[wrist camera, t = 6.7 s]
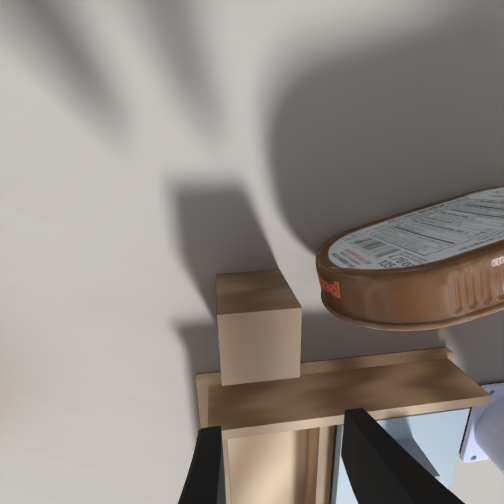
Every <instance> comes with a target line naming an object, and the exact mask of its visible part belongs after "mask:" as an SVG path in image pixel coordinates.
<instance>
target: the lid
mask: <svg viewBox="0 0 504 504" xmlns="http://www.w3.org/2000/svg"><path fill="white" fill-rule="evenodd" d="M469 410H470V408H469V407H467V408H459V409H452V410H444V411H437V412H429V413H422V414H414V415H407V416H399V417H392V418H384V419H377V420H376V421H377V422H378V423H379V424H380V425H381V426H382V427H383V428H384V429H385V430H386V431H387V432H388V433H389V434H390V435H391V436H392V437H393V438H394V439H395V440H396V441H397V442H398V443H399V444H400V445H401V446H402V447H403V448H404V449H405V450H406V451H407V452H408V453H409V454H410V455H411V456H412V457H413V458H414V459H416V460H417V461H418V462H419V463H420V464H421V465H422V466H423V467H424V468H425V469H426V470H427V471H428V472H429V473H431V474H432V475H433V476H434V477H435V478H436V479H437V480H438V481H439V482H441V483H442V484H443V485H444V486H445V487H446V488H447V489H448V490H449V489H450V485H451V481H452V477H453V473H454V470H455V466H456V462H457V458H458V454H459V450H460V446H461V442H462V438H463V434H464V430H465V426H466V422H467V418H468V414H469ZM343 425H344V424H339V425H337V437H336V449H335V462H334V474H333V487H332V499H331V504H358V502H357V500H356V497H355V495H354V493H353V490H352V487H351V484H350V482H349V479H348V476H347V473H346V470H345V467H344V464H343V461H342V458H341V447H342V436H343Z"/></svg>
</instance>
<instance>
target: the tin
mask: <svg viewBox="0 0 504 504" xmlns="http://www.w3.org/2000/svg"><path fill="white" fill-rule="evenodd" d="M316 269H317V274H318V278H319V282H320V285H321V299H322V302H323V304H324V306H325V307H326V308H327V310H328V311H330V312H331V313H332V314H333V315H335V316H336V317H338V318H340V319H342V320H344V321H347V322H349V323H352V324H355V325H358V326H362V327H367V328H371V329H379V330H388V331H418V330H431V329H439V328H444V327H449V326H453V325H457V324H461V323H464V322H468V321H471V320H474V319H477V318H480V317H483V316H486V315H489V314H493V313H496V312H499V311H502V310H504V186H499V187H493V188H488V189H484V190H480V191H475V192H472V193H468V194H465V195H461V196H458V197H455V198H451V199H448V200H444V201H441V202H438V203H434V204H431V205H427V206H424V207H421V208H417V209H414V210H411V211H408V212H404V213H401V214H398V215H395V216H391V217H388V218H385V219H382V220H379V221H375V222H372V223H369V224H366V225H363V226H360V227H357V228H354V229H351V230H349V231H346V232H344V233H342V234H339V235H337V236H336V237H334V238H332V239H330V240H329V241H328V242H326V243H325V244H324V245H323V246H322V247H321V248H320V249H319V251H318V252H317V255H316Z"/></svg>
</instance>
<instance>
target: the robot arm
mask: <svg viewBox="0 0 504 504" xmlns="http://www.w3.org/2000/svg"><path fill="white" fill-rule="evenodd" d="M481 387H482V388H483V389H484V390H485V391H486V392H488V393H489V394H490V395H491V398H490V402H489V405H482V406H474V407H472V410H471V414H470V418H469V422H468V426H467V430H466V433H465V437H464V441H463V445H462V449H461V453H460V458H461V459H462V461H463V462H473V461H480V460H486V459H490V460H491V461H492V462H493V463H494V464H495V465H496V466H497V467H498V468H499V469H500V470H501V472H502V473H503V474H504V383H497V384H489V385H482V386H481ZM341 458H342V461H343V464H344V467H345V470H346V473H347V476H348V479H349V482H350V484H351V487H352V490H353V493H354V495H355V497H356V500H357V502H358V504H465V503H463V502H462V501H461V500H460V499H459V498H458V497H457V496H455V495H454V494H453V493H452V492H451V491H450V490H448V489H447V488H446V487H445V486H444V485H443V484H442V483H441V482H439V481H438V480H437V479H436V478H435V477H434V476H433V475H432V474H431V473H429V472H428V471H427V470H426V469H425V468H424V467H423V466H422V465H421V464H420V463H419V462H418V461H417V460H416V459H414V458H413V457H412V456H411V455H410V454H409V453H408V452H407V451H406V450H405V449H404V448H403V447H402V446H401V445H400V444H399V443H398V442H397V441H396V440H395V439H394V438H393V437H392V436H391V435H390V434H389V433H388V432H387V431H386V430H385V429H384V428H383V427H382V426H381V425H380V424H379V423H378V422H377V421H376V420H375V419H374V418H373V417H372V416H371V415H370V414H369V413H368V412H367V411H366V410H364V409H363V408H355V409H347V410H345V414H344V425H343V436H342V447H341ZM178 504H226V491H225V470H224V457H223V444H222V431H221V426H214V427H206V428H201V429H200V430H199V431H198V437H197V442H196V446H195V451H194V455H193V458H192V462H191V465H190V469H189V472H188V475H187V479H186V481H185V484H184V487H183V490H182V493H181V496H180V499H179V502H178Z"/></svg>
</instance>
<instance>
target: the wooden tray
mask: <svg viewBox="0 0 504 504" xmlns="http://www.w3.org/2000/svg"><path fill="white" fill-rule="evenodd" d="M452 354H453V352H452V351H451V350H450V349H448V348H447V347H445V348H436V349H427V350H417V351H408V352H399V353H390V354H380V355H371V356H362V357H353V358H343V359H334V360H325V361H315V362H306V363H300V377H297V378H288V379H279V380H270V381H261V382H252V383H243V384H234V385H225V386H222V382H221V372H214V373H204V374H196V388H197V398H198V407H199V417H200V426H201V428H206V427H214V426H221V431H222V444H223V457H224V470H225V491H226V504H331V499H332V487H333V474H334V462H335V449H336V437H337V425H339V424H344V414H345V410H347V409H355V408H363V409H364V410H366V411H367V412H368V413H369V414H370V415H371V416H372V417H373V418H374V419H375V420H377V419H384V418H392V417H399V416H407V415H414V414H422V413H429V412H437V411H444V410H452V409H459V408H467V407H474V406H482V405H489V402H490V398H491V395H490V394H489V393H488V392H486V391H485V390H484V389H483V388H482V387H481V386H479V385H478V384H477V383H476V382H475V381H474V380H472V379H471V378H470V377H469V376H468V375H467V374H465V373H464V372H463V371H462V370H461V369H460V368H459V367H457V366H456V365H455V364H454V363H453V362H452V361H451V359H452Z"/></svg>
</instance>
